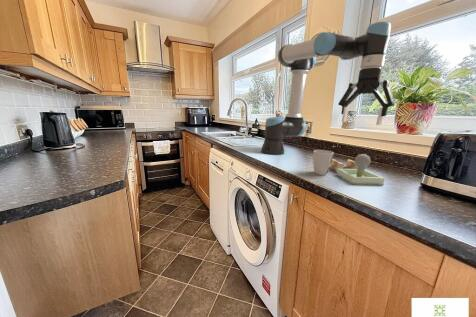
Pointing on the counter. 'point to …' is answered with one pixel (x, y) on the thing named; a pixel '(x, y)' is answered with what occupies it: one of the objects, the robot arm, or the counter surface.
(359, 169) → the light bulb
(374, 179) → the dish
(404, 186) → the counter surface
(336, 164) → the holder
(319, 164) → the cup
